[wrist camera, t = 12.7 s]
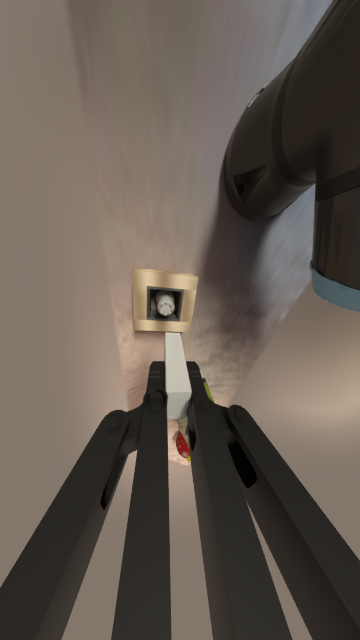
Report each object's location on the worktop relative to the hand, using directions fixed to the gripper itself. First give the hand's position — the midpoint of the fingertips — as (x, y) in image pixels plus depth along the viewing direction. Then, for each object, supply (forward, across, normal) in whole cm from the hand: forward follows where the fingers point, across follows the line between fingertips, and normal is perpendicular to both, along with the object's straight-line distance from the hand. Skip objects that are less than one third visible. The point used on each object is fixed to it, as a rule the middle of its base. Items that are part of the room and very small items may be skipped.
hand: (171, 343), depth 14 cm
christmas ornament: (+18, +12, -60) cm, 63 cm away
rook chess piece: (+19, -1, 0) cm, 19 cm away
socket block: (+18, -1, 0) cm, 18 cm away
